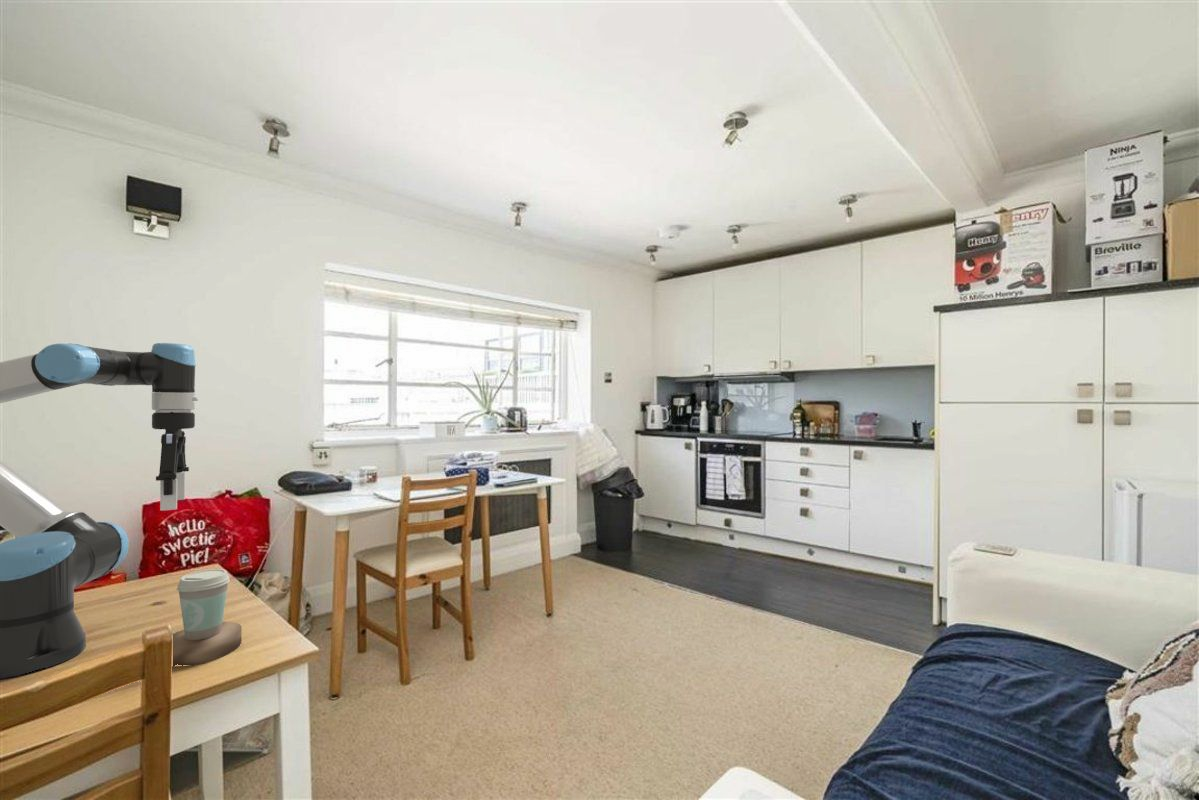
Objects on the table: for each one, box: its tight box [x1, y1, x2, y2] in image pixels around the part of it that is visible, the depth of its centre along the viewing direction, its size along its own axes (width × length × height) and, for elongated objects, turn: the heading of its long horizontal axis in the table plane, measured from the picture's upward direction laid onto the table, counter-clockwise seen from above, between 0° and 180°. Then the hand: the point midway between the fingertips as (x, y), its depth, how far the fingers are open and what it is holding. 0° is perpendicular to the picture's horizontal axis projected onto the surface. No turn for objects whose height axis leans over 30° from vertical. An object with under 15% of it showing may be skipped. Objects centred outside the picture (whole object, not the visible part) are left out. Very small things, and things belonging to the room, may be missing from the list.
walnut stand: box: [172, 621, 243, 668], centre depth 103 cm, size 13×13×3 cm
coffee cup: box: [176, 568, 231, 640], centre depth 103 cm, size 8×8×12 cm
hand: (173, 504), depth 116 cm, fingers open, 13 cm apart
